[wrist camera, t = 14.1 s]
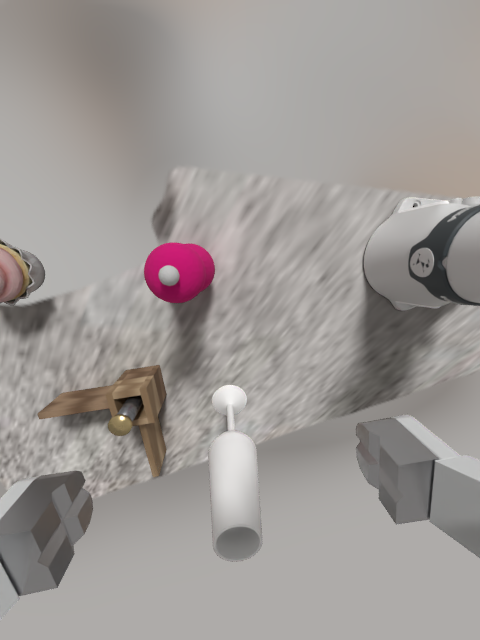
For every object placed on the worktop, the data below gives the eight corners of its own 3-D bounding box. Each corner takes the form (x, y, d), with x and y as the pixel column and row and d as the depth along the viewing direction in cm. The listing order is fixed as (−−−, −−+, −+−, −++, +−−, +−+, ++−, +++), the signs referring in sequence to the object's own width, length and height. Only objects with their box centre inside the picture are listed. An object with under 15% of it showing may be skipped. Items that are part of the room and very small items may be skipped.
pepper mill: (219, 251, 39) (217, 242, 20) (210, 294, 41) (201, 325, 22) (174, 240, 38) (127, 221, 19) (167, 285, 40) (118, 308, 21)
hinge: (87, 462, 47) (60, 502, 39) (57, 380, 43) (21, 407, 35) (178, 447, 48) (170, 483, 40) (159, 365, 43) (146, 387, 36)
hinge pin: (147, 383, 40) (128, 414, 32) (150, 399, 41) (133, 434, 33) (129, 386, 40) (105, 418, 32) (133, 402, 41) (111, 437, 33)
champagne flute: (238, 420, 47) (254, 574, 24) (206, 409, 46) (191, 560, 23) (252, 391, 46) (284, 526, 23) (220, 379, 45) (218, 508, 22)
